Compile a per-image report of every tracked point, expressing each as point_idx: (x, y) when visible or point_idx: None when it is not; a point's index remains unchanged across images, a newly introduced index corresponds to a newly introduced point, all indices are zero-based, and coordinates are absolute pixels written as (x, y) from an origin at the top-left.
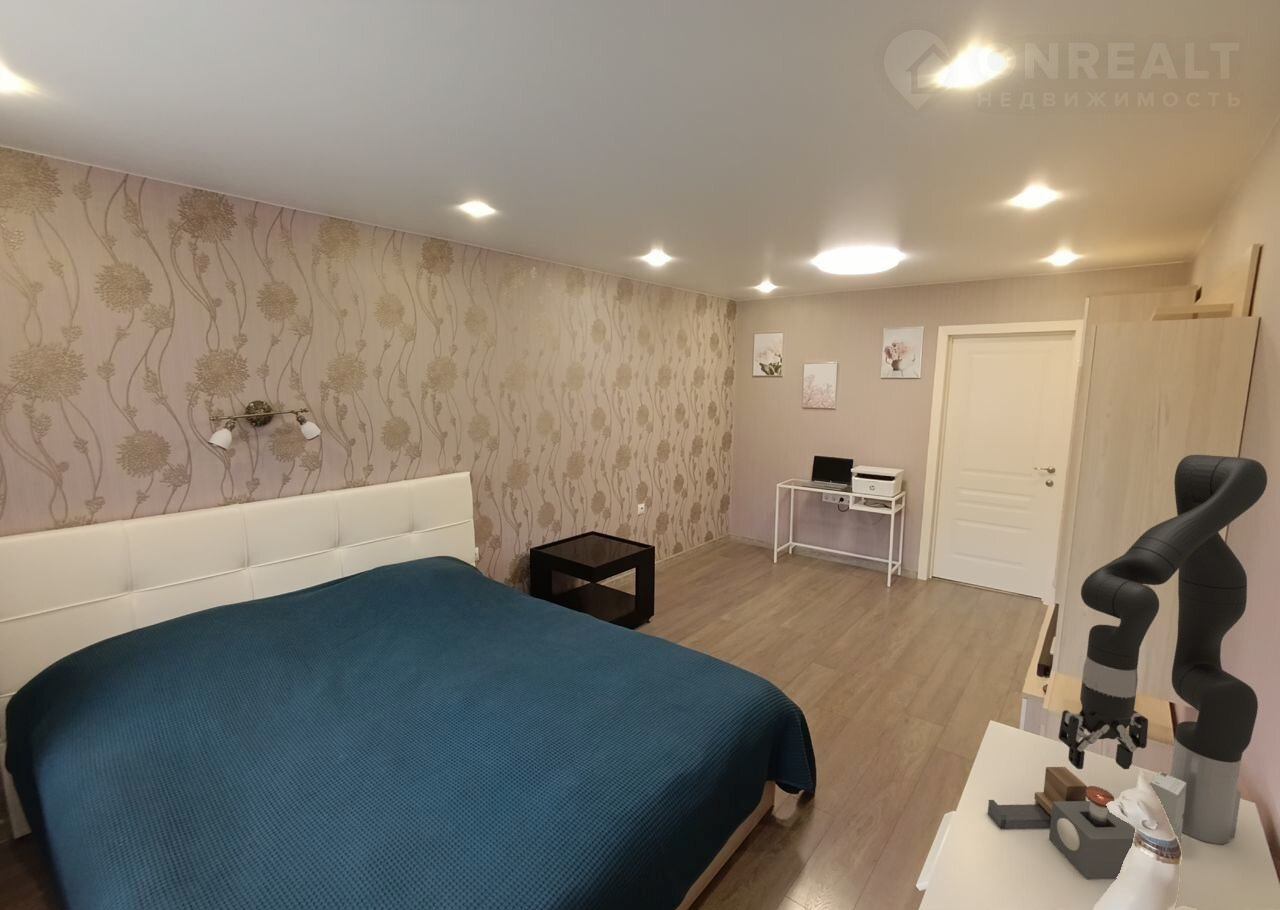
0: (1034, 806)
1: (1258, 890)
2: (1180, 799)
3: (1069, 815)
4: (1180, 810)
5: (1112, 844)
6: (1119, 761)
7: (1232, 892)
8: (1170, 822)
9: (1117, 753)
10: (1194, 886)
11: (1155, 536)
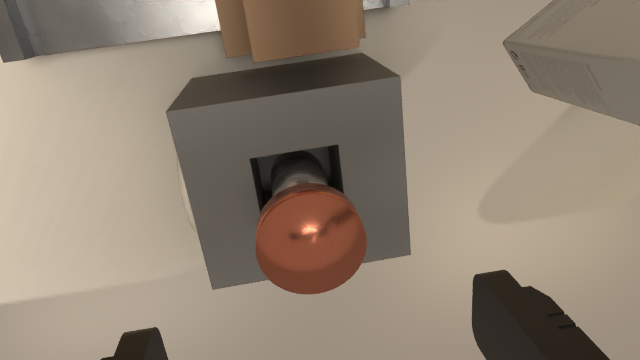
0: None
1: (632, 183)
2: None
3: (197, 187)
4: None
5: None
6: (485, 314)
7: (565, 198)
8: (589, 104)
9: (513, 323)
10: (490, 195)
11: None
